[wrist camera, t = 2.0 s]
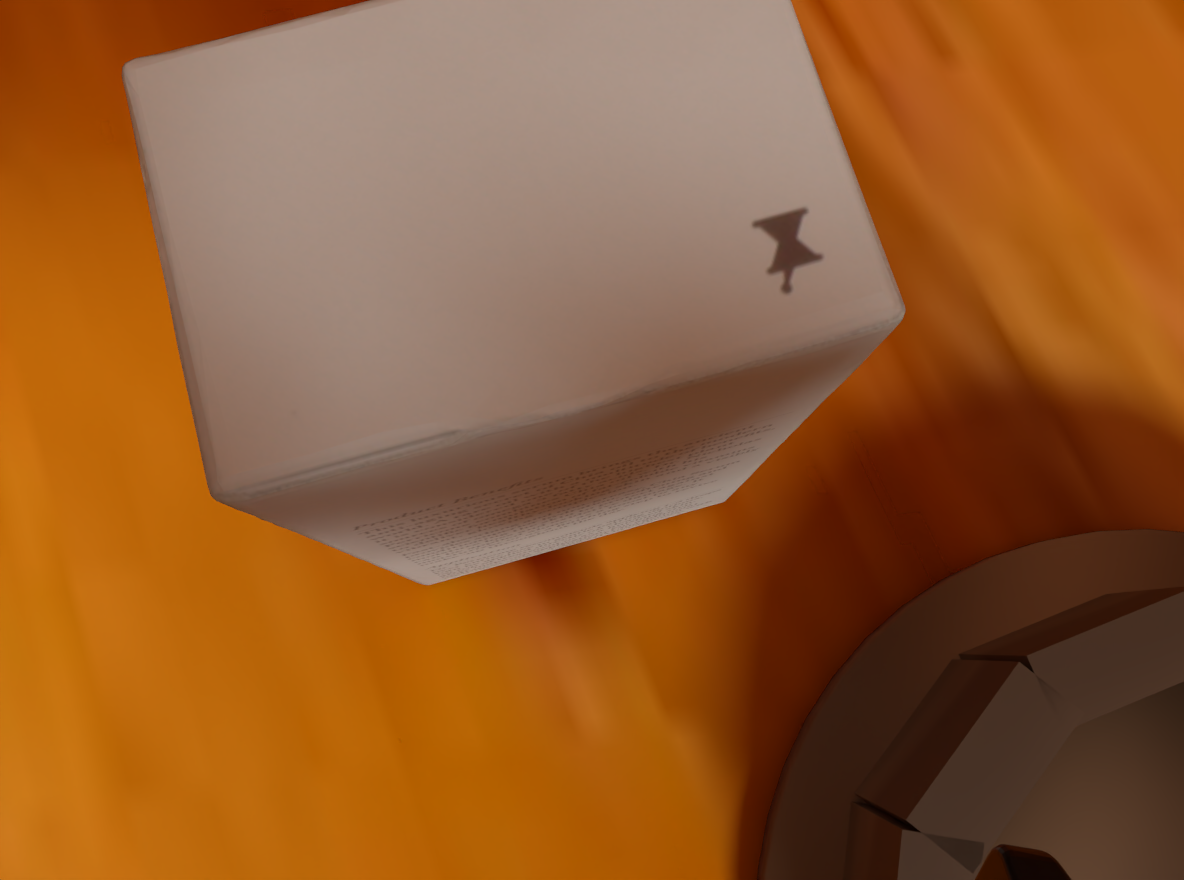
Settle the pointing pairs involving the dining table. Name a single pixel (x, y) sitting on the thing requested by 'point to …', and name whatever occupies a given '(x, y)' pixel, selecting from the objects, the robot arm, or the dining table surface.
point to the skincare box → (503, 265)
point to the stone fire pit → (1002, 725)
